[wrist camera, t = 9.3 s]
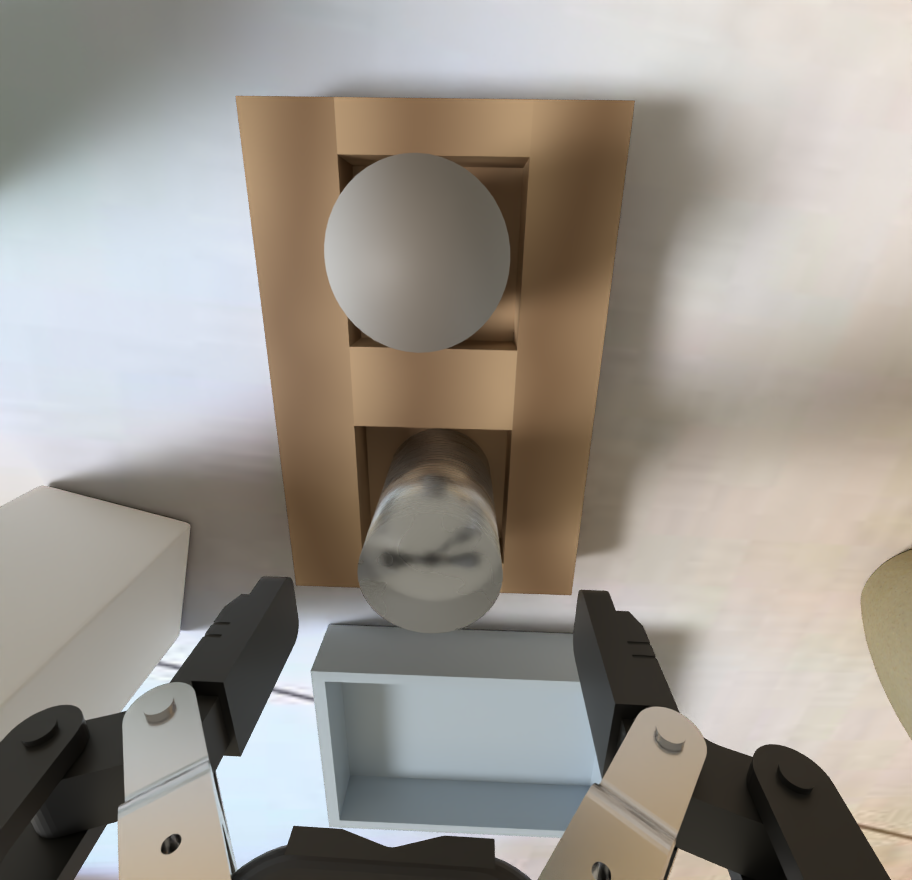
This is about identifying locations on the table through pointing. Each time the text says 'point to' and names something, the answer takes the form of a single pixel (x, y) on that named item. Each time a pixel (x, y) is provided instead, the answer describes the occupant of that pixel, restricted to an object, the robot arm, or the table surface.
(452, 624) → the cylinder
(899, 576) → the flower pot
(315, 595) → the table surface
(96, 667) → the milk carton
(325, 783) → the tote
